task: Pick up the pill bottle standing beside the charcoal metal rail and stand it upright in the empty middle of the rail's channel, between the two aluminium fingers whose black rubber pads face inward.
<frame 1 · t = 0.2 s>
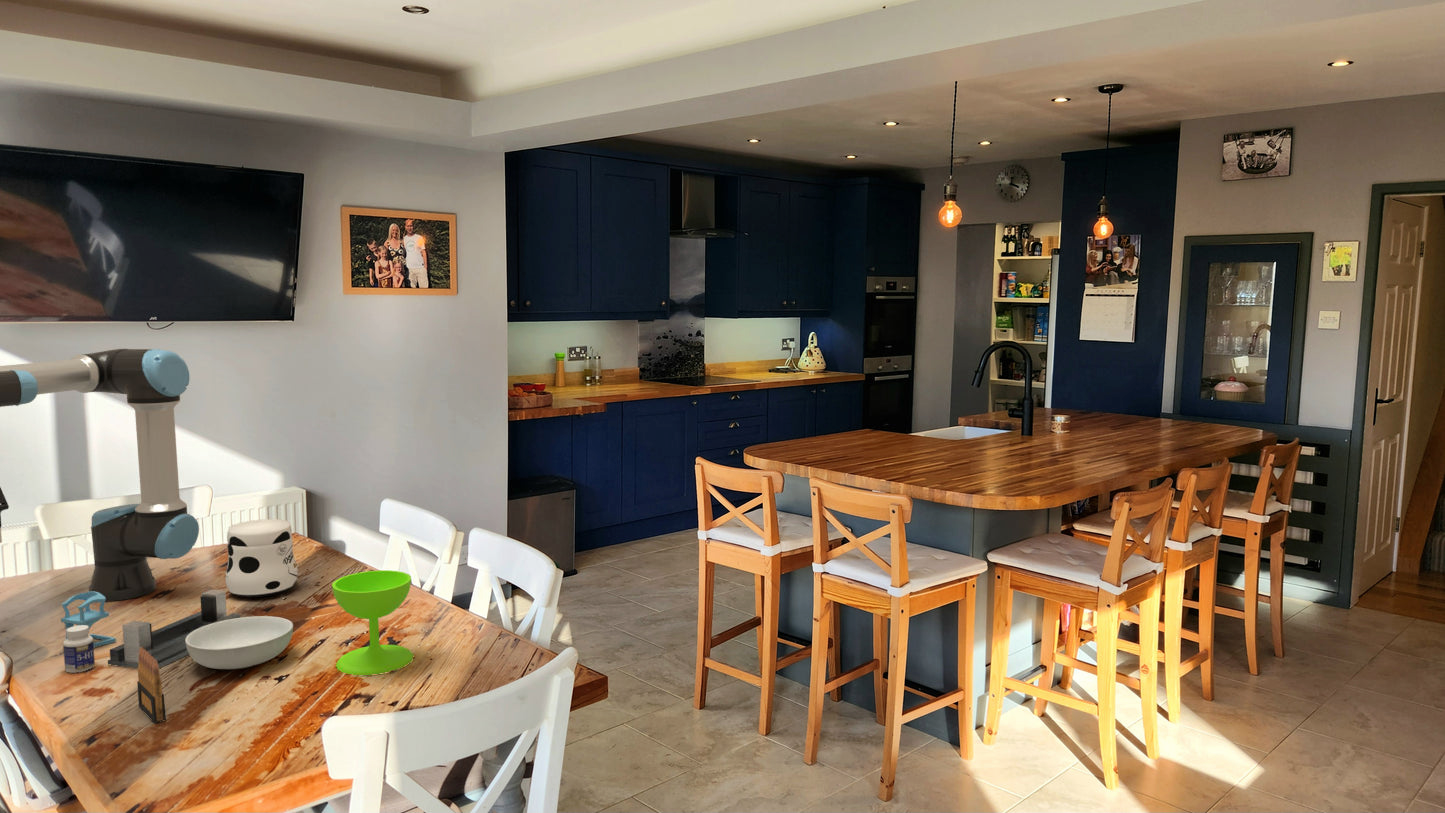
ammunition clip: (152, 714, 181), on the table
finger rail: (179, 645, 215), on the table
wineglass: (375, 662, 207), on the table
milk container: (263, 592, 254), on the table
pill bottle: (80, 669, 202), on the table
serving bowl: (242, 662, 207), on the table
chair: (87, 646, 215), on the table
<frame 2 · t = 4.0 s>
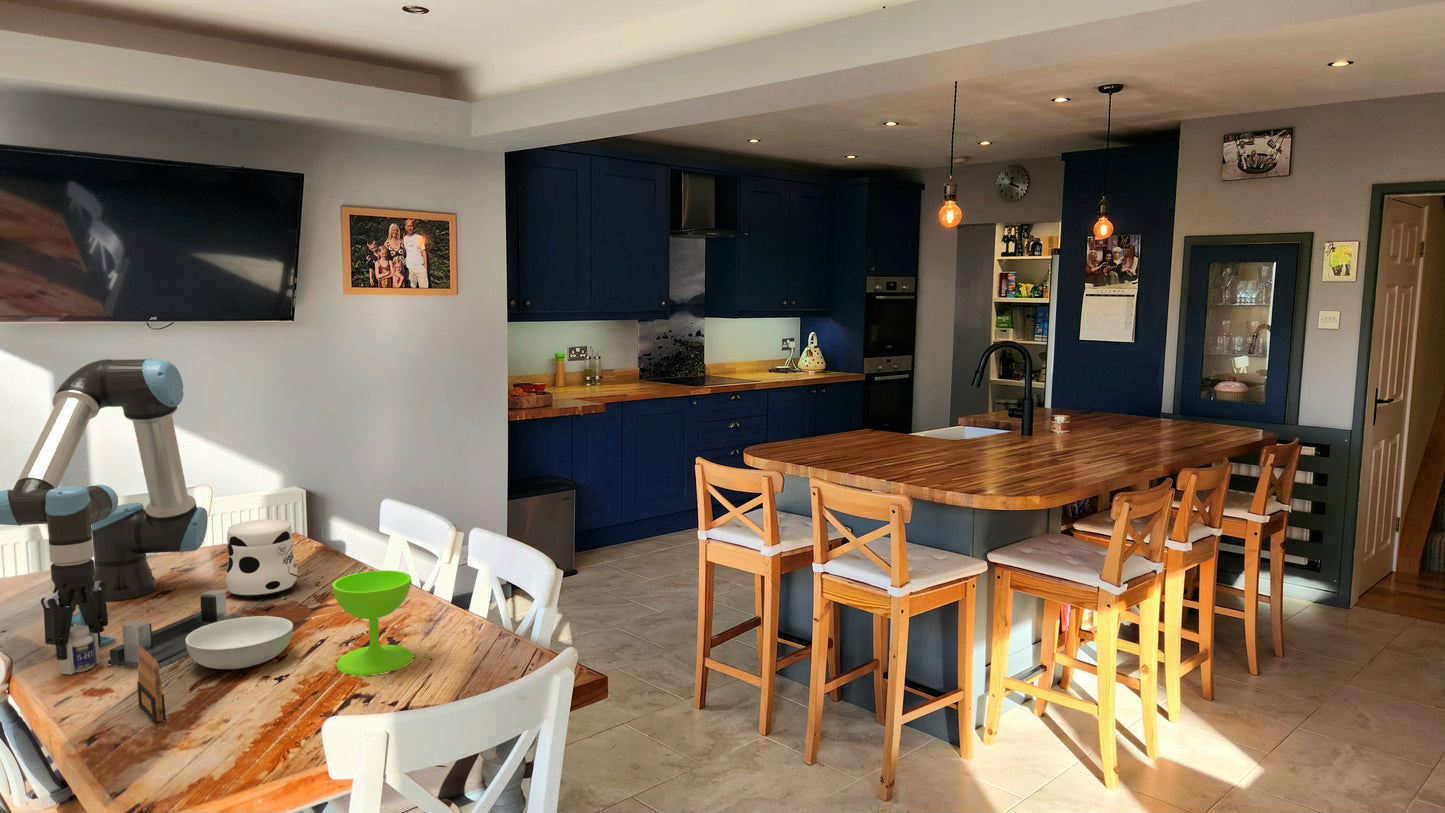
hand: (80, 667, 202), 0 cm above the table, tool pointing down, fingers open, 5 cm apart
pill bottle: (80, 669, 202), on the table, touching gripper
everything else where it was.
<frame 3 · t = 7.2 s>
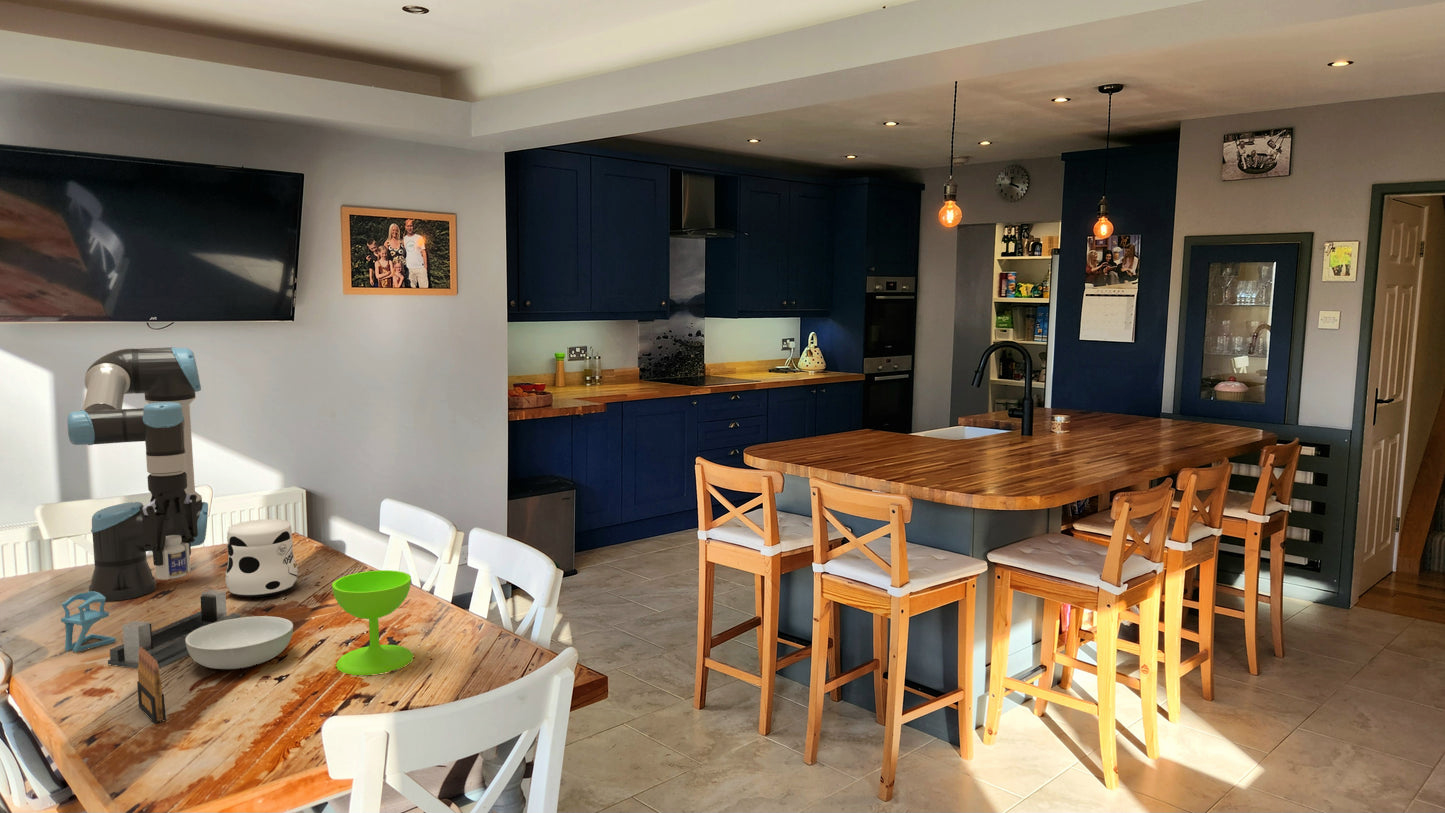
hand: (173, 574, 213), 17 cm above the table, tool pointing down, fingers closed on pill bottle, 5 cm apart
pill bottle: (173, 576, 213), point 16 cm above the table, touching gripper
everything else where it was.
when the fingers open (2 cm above the table, at t = 9.8 s): pill bottle stays where it is, resting on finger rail.
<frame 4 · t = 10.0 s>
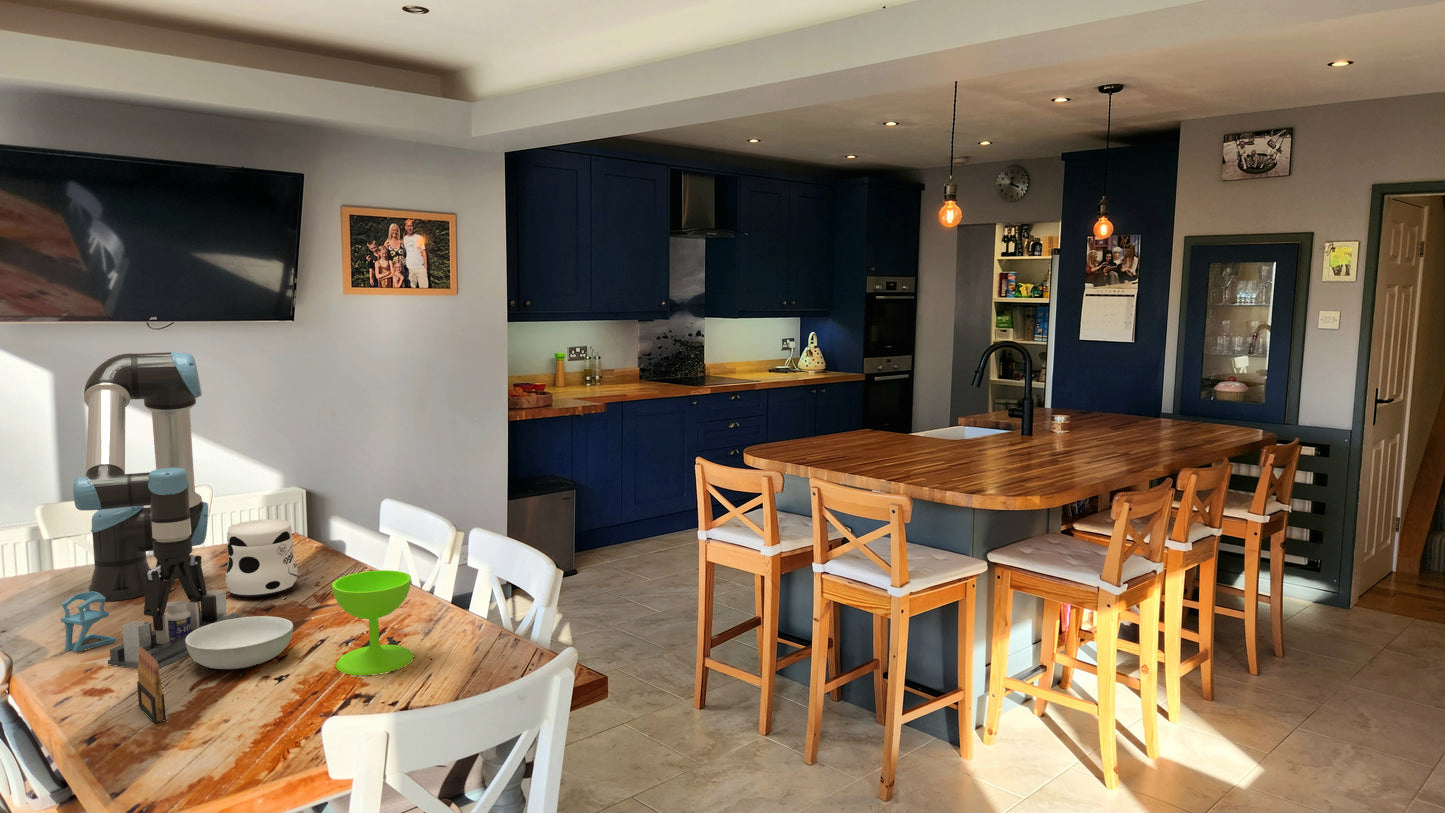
hand: (178, 636, 215), 2 cm above the table, tool pointing down, fingers open, 8 cm apart
pill bottle: (178, 642, 215), point 1 cm above the table, touching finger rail
everything else where it was.
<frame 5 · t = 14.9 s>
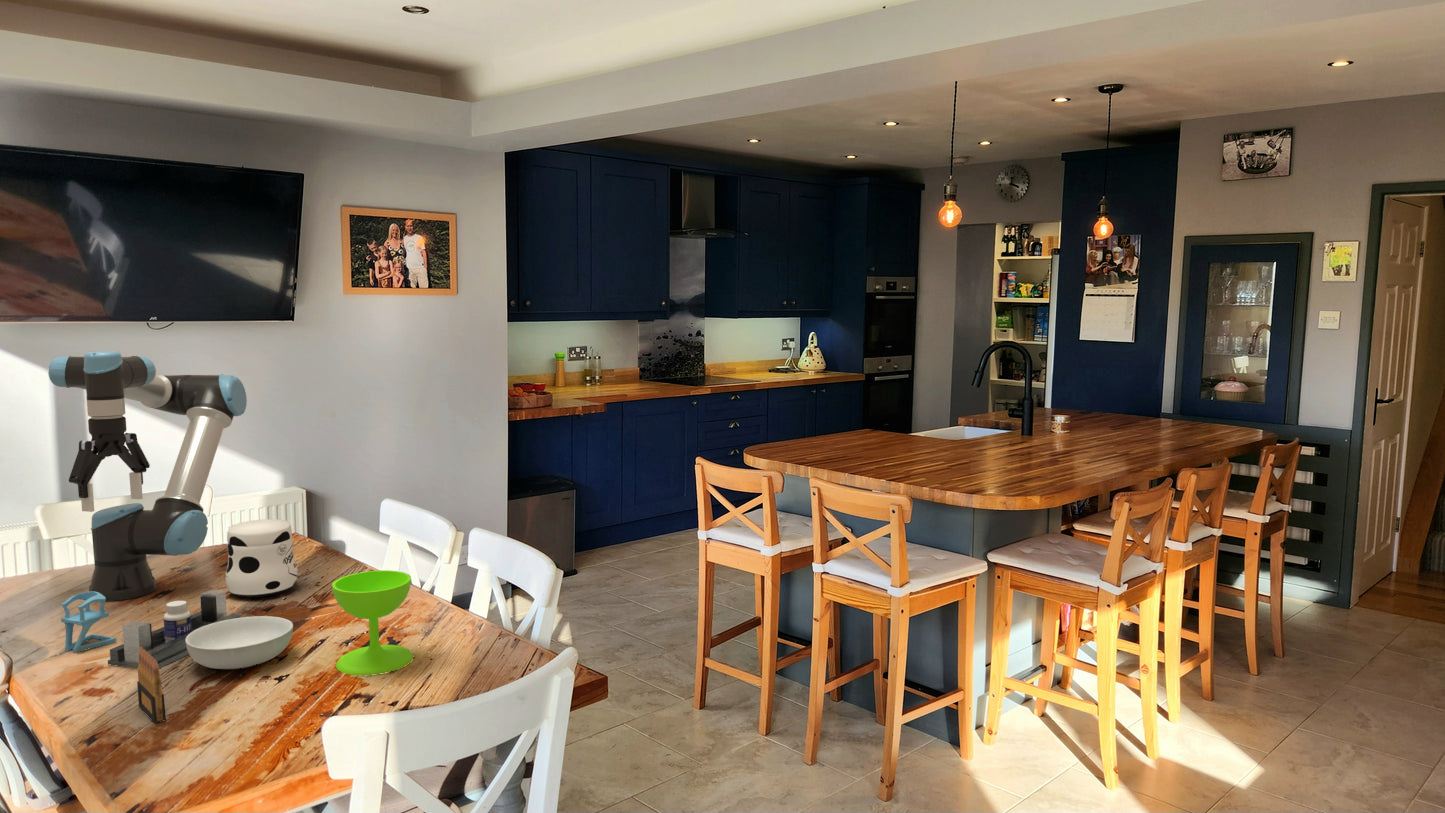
hand: (113, 505, 227), 29 cm above the table, tool pointing down, fingers open, 13 cm apart
nothing on the table moved.
at the end: pill bottle 0.1 cm off-centre on the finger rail, point 0.8 cm above the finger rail's base; pill bottle tilted 0°; the gripper is holding nothing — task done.
